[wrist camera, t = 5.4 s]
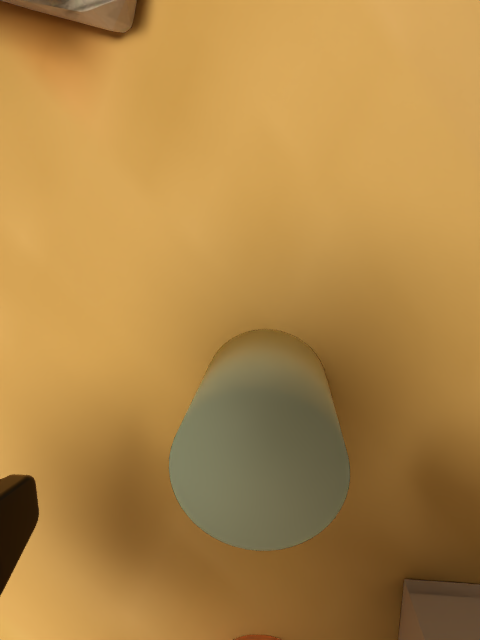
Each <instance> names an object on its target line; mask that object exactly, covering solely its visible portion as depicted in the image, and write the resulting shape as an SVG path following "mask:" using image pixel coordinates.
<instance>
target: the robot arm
mask: <svg viewBox="0 0 480 640" xmlns="http://www.w3.org/2000/svg"><path fill="white" fill-rule="evenodd" d="M38 517H39V508H38V499H37V491H36V483H35V480H34V478H33V477H32V476H30V475H15V474H14V475H9V476H7V477H5V478H2V479H0V595H1V594H2V592H3V590H4V588H5V586H6V584H7V582H8V580H9V578H10V576H11V574H12V572H13V570H14V568H15V566H16V564H17V562H18V560H19V558H20V556H21V554H22V552H23V550H24V548H25V546H26V544H27V542H28V540H29V538H30V536H31V534H32V532H33V530H34V528H35V526H36V524H37V521H38Z"/></svg>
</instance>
